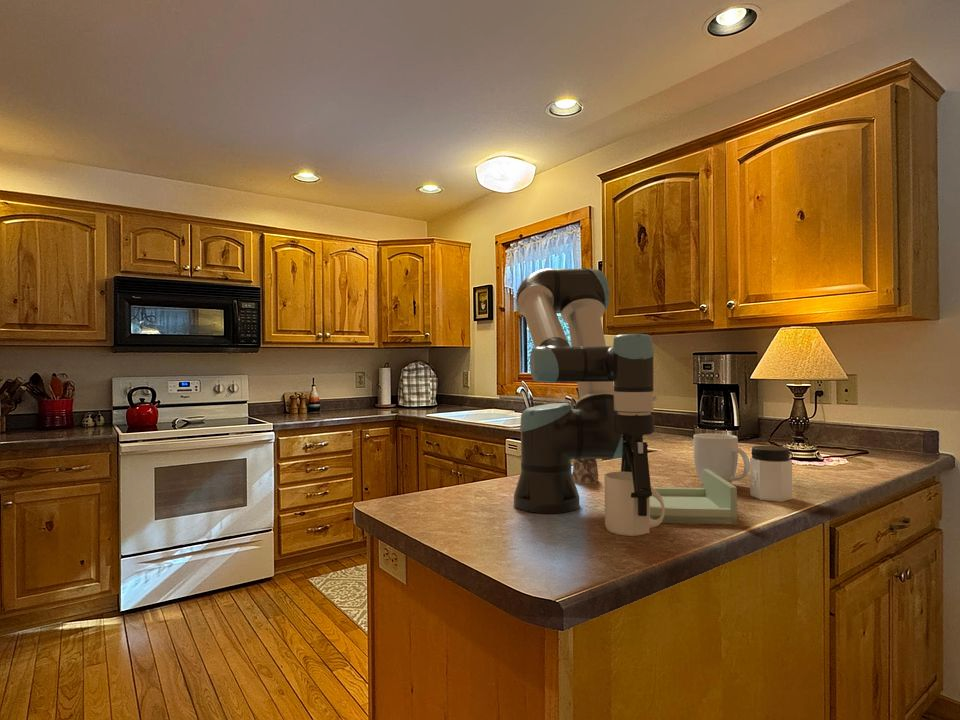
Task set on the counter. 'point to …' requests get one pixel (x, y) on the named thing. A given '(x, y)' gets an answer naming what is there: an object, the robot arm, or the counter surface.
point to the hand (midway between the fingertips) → (635, 522)
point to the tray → (698, 502)
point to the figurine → (585, 471)
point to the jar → (771, 473)
